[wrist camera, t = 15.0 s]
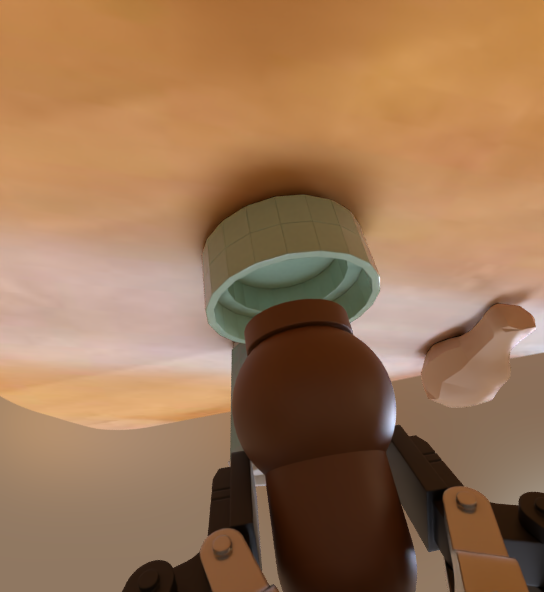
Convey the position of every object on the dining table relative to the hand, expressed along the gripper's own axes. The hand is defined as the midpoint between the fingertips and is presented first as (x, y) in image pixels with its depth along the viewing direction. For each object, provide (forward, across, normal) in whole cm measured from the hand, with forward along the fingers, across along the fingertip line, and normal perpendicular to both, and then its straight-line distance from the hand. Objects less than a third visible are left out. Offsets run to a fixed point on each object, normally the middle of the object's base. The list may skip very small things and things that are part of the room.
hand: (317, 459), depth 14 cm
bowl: (+17, -1, -6) cm, 19 cm away
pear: (+2, 0, -5) cm, 5 cm away
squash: (+35, -28, +11) cm, 47 cm away
